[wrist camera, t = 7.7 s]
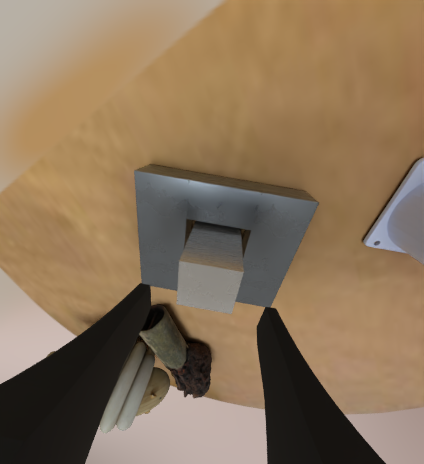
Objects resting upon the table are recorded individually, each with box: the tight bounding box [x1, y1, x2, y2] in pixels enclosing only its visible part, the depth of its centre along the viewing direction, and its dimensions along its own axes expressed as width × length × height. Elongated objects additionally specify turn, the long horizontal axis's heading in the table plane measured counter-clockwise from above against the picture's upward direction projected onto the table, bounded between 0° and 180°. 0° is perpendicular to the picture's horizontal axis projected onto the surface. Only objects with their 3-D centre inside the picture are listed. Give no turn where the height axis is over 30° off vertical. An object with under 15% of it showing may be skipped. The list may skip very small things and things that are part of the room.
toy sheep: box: [47, 340, 170, 433], centre depth 26 cm, size 11×17×11 cm, turn 72°
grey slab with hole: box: [134, 164, 319, 307], centre depth 18 cm, size 14×12×3 cm
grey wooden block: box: [177, 221, 244, 314], centre depth 16 cm, size 4×4×8 cm
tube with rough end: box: [139, 304, 212, 398], centre depth 27 cm, size 18×7×6 cm, turn 20°
